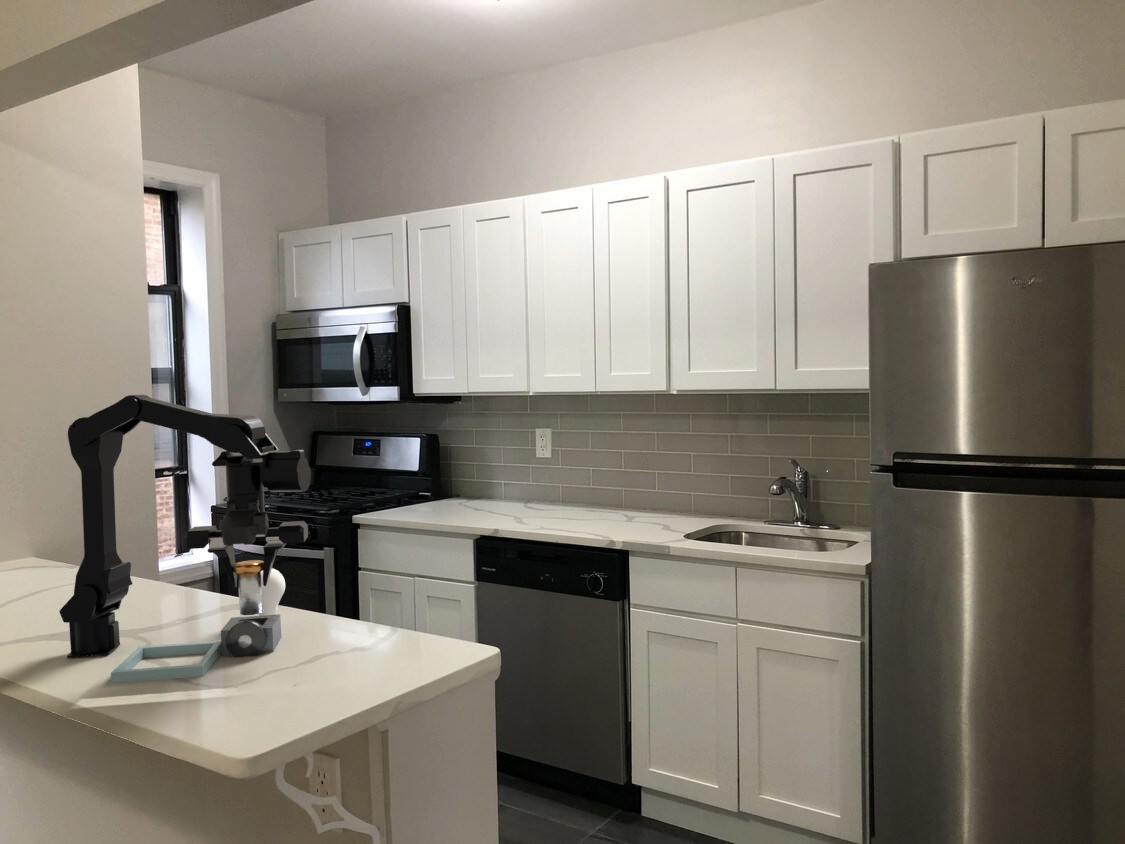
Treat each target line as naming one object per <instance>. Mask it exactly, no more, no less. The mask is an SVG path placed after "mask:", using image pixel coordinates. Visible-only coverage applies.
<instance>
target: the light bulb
mask: <svg viewBox="0 0 1125 844" xmlns="http://www.w3.org/2000/svg"><path fill="white" fill-rule="evenodd" d="M261 584H262V603H263V612H262V613H259V614H257V616H263V615H277V613H278V608H279V607H278V606H279V603H280V601H281V599H282V597H283V595H284V593H285V590H286V581H285V578H284V576H283V574H282V573H281V572H280V571H279V570H277V569H275V568H273V567H272V569H271V573H270V576H269V579H268V583H267V585H266V586H264V585H263V571H261Z"/></svg>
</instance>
